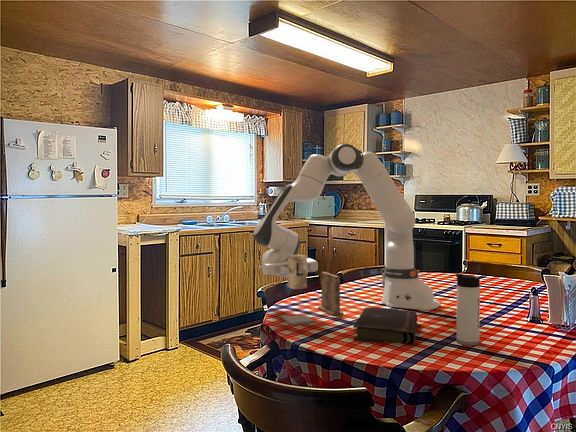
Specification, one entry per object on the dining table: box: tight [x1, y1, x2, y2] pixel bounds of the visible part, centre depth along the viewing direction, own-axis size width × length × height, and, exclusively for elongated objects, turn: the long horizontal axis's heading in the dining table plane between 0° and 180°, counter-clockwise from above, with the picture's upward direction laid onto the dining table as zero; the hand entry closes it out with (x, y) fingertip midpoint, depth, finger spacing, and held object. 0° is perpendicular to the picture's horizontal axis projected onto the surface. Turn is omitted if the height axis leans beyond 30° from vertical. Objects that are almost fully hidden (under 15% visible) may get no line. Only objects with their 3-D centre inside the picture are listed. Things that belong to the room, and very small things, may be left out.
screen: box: [317, 271, 344, 317], centre depth 171 cm, size 12×4×14 cm, turn 21°
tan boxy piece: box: [287, 253, 308, 290], centre depth 158 cm, size 5×5×11 cm
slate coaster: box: [282, 314, 314, 326], centre depth 158 cm, size 8×8×1 cm
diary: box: [353, 306, 418, 346], centre depth 146 cm, size 19×25×5 cm
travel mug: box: [455, 273, 481, 346], centre depth 133 cm, size 6×7×20 cm
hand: (298, 270), depth 157 cm, fingers closed on tan boxy piece, 5 cm apart
